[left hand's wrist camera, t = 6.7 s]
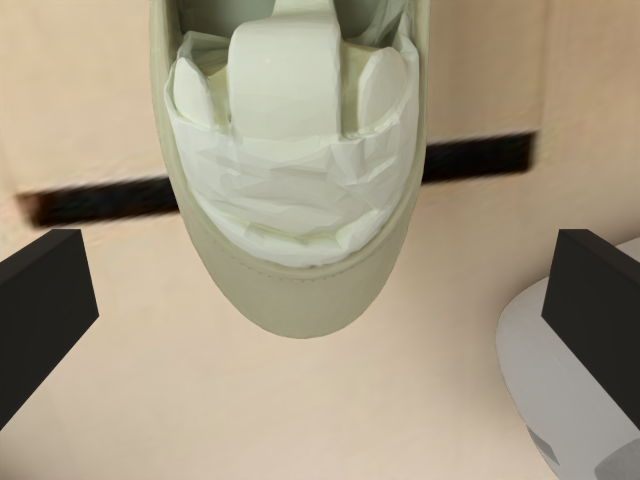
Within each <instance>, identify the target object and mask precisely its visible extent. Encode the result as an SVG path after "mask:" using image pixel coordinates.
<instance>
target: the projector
mask: <svg viewBox="0 0 640 480" xmlns="http://www.w3.org/2000/svg"><path fill="white" fill-rule="evenodd" d="M615 247H616V248H618V249H619V250H621V251H622V252H624V253H626V254H627V255H629V256H630V257H632V258H633V259H635V260H637V261H638V262H640V237H638V238H635V239H632V240H630V241H627V242H625V243H622V244H619V245H617V246H615ZM548 280H549V276H547V277H545V278H543V279H542V280H540V281H538V282H536V283H535V284H533V285H531V286H530V287H528V288H527V289H525V290H524V291H522V292H521V293H519V294H518V295H517V296H516V297H514V298H513V299H512V300H511V301H510V302H509V303H508V305H507V306H506V307H505V308H504V310H503V312H502V313H501V315H500V318H499V320H498V323H497V328H496V333H495V346H496V352H497V357H498V361H499V365H500V368H501V372H502V375H503V378H504V380H505V383H506V386H507V388H508V390H509V393H510V395H511V397H512V400H513V402H514V404H515V406H516V408H517V410H518V412H519V414H520V416H521V418H522V419H523V420H524V422H525V423H526V426H527V429H528V431H529V434H530V436H531V438H532V439H533V441H534V443H535V445H536V447H537V448H538V450H539V452H540V453H541V455H542V457H543V458H544V460H545V461H546V463H547V464H548V466H549V467H550V468H551V470H552V471H553V472H554V474H555V475H556V476H557V477H558V478H559V479H560V480H640V431H639V430H638V428H637V427H636V426H635V425H634V424H633V423H632V421H631V420H630V419H629V418H628V417H627V416H626V414H625V413H624V412H623V411H622V410H621V409H620V407H619V406H618V405H617V404H616V403H615V402H614V400H613V399H612V398H611V397H610V396H609V395H608V394H607V392H606V391H605V390H604V389H603V388H602V387H601V385H600V384H599V383H598V382H597V381H596V380H595V378H594V377H593V376H592V375H591V374H590V373H589V371H588V370H587V369H586V368H585V367H584V366H583V365H582V363H581V362H580V361H579V360H578V359H577V358H576V356H575V355H574V354H573V353H572V352H571V351H570V349H569V348H568V347H567V346H566V345H565V344H564V342H563V341H562V340H561V339H560V338H559V337H558V335H557V334H556V333H555V332H554V331H553V330H552V329H551V327H550V326H549V325H548V324H547V323H546V322H545V320H544V319H543V318H542V317H541V313H542V308H543V303H544V299H545V294H546V289H547V285H548Z"/></svg>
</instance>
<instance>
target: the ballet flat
mask: <svg viewBox="0 0 640 480" xmlns="http://www.w3.org/2000/svg"><path fill="white" fill-rule="evenodd" d="M430 9H431V0H151V2H150V24H149V29H150V75H151V88H152V100H153V107H154V114H155V121H156V127H157V131H158V136H159V140H160V145H161V149H162V154H163V158H164V161H165V165H166V168H167V171H168V175H169V178H170V181H171V184H172V187H173V190H174V193H175V196H176V199H177V203H178V206H179V209H180V212H181V215H182V218H183V221H184V224H185V226H186V229H187V231H188V234H189V236H190V238H191V241H192V243H193V245H194V247H195V249H196V250H197V252H198V254H199V256H200V258H201V260H202V261H203V263H204V265H205V267H206V269H207V271H208V272H209V274H210V276H211V277H212V279H213V281H214V282H215V284H216V285H217V287H218V288H219V289H220V290H221V292H222V293H223V294H224V295H225V296H226V298H227V299H228V300H229V301H230V302H231V303H232V304H233V305H234V307H235V308H236V309H237V310H239V311H240V312H241V313H242V314H243V315H244V316H245V317H246V318H247V319H249V320H250V321H252V322H253V323H255V324H256V325H258V326H259V327H261V328H262V329H264V330H266V331H269V332H271V333H274V334H276V335H279V336H284V337H289V338H296V339H308V338H315V337H321V336H325V335H329V334H331V333H333V332H336V331H338V330H340V329H342V328H344V327H346V326H347V325H349V324H350V323H352V322H353V321H354V320H356V319H357V318H358V317H359V316H361V315H362V314H363V313H364V311H365V310H366V309H367V308H368V307H369V305H370V304H371V303H372V302H373V301H374V299H375V298H376V297H377V295H378V294H379V293H380V291H381V290H382V288H383V286H384V285H385V283H386V281H387V279H388V277H389V275H390V273H391V271H392V269H393V267H394V265H395V262H396V260H397V257H398V255H399V253H400V250H401V248H402V245H403V242H404V240H405V237H406V234H407V229H408V223H409V221H410V218H411V215H412V213H413V210H414V207H415V203H416V200H417V197H418V193H419V189H420V184H421V180H422V175H423V168H424V159H425V151H426V135H427V134H426V116H427V81H428V56H429V26H430Z"/></svg>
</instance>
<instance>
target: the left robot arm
mask: <svg viewBox="0 0 640 480" xmlns="http://www.w3.org/2000/svg"><path fill="white" fill-rule="evenodd" d="M98 317H99V313H98V308H97V303H96V299H95V294H94V289H93V285H92V280H91V275H90V271H89V266H88V261H87V257H86V252H85V247H84V242H83V238H82V233H81V229H52V230H51V231H49V232H48V233H46V234H44V235H43V236H41V237H40V238H38V239H36V240H35V241H33V242H32V243H30V244H29V245H27V246H25V247H24V248H22V249H21V250H19V251H18V252H16V253H14V254H13V255H11V256H10V257H8V258H7V259H5V260H3V261H2V262H0V431H1V430H2V428H3V427H4V426H5V425H6V424H7V423H8V421H9V420H10V419H11V418H12V417H13V416H14V414H15V413H16V412H17V411H18V410H19V409H20V407H21V406H22V405H23V404H24V403H25V402H26V400H27V399H28V398H29V397H30V396H31V395H32V394H33V392H34V391H35V390H36V389H37V388H38V387H39V385H40V384H41V383H42V382H43V381H44V380H45V378H46V377H47V376H48V375H49V374H50V373H51V371H52V370H53V369H54V368H55V367H56V366H57V365H58V363H59V362H60V361H61V360H62V359H63V358H64V356H65V355H66V354H67V353H68V352H69V351H70V349H71V348H72V347H73V346H74V345H75V344H76V342H77V341H78V340H79V339H80V338H81V337H82V335H83V334H84V333H85V332H86V331H87V330H88V329H89V327H90V326H91V325H92V324H93V323H94V322H95V320H96V319H97V318H98ZM541 317H542V318H543V319H544V320H545V322H546V323H547V324H548V325H549V326H550V327H551V329H552V330H553V331H554V332H555V333H556V334H557V335H558V337H559V338H560V339H561V340H562V341H563V342H564V344H565V345H566V346H567V347H568V348H569V349H570V351H571V352H572V353H573V354H574V355H575V356H576V358H577V359H578V360H579V361H580V362H581V363H582V365H583V366H584V367H585V368H586V369H587V370H588V371H589V373H590V374H591V375H592V376H593V377H594V378H595V380H596V381H597V382H598V383H599V384H600V385H601V387H602V388H603V389H604V390H605V391H606V392H607V394H608V395H609V396H610V397H611V398H612V399H613V400H614V402H615V403H616V404H617V405H618V406H619V407H620V409H621V410H622V411H623V412H624V413H625V414H626V416H627V417H628V418H629V419H630V420H631V421H632V423H633V424H634V425H635V426H636V427H637V428H638V430H639V431H640V262H638V261H637V260H635V259H633V258H632V257H630V256H629V255H627V254H626V253H624V252H622V251H621V250H619V249H618V248H616V247H615V246H613V245H611V244H610V243H608V242H607V241H605V240H604V239H602V238H600V237H599V236H597V235H596V234H594V233H592V232H591V231H589V230H588V229H559V233H558V238H557V242H556V247H555V252H554V257H553V261H552V266H551V271H550V275H549V280H548V285H547V289H546V294H545V299H544V303H543V308H542V313H541Z"/></svg>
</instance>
